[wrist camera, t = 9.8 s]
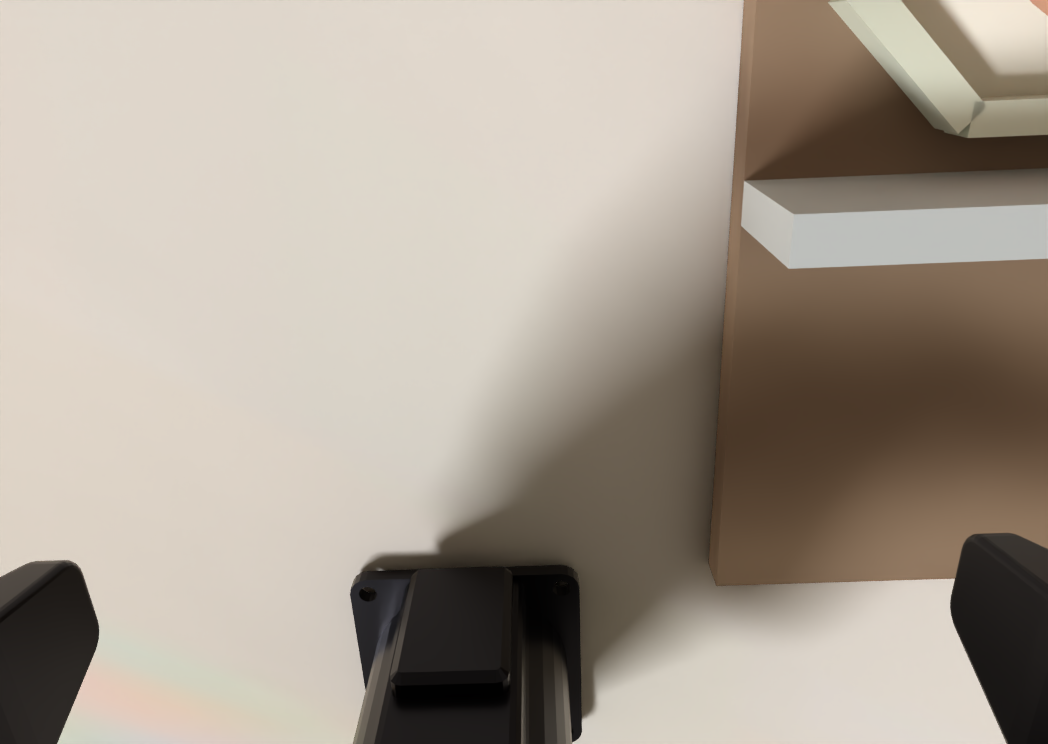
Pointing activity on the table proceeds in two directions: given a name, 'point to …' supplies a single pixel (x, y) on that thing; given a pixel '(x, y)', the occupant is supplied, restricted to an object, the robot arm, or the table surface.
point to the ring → (961, 60)
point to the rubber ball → (1041, 5)
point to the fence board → (873, 322)
